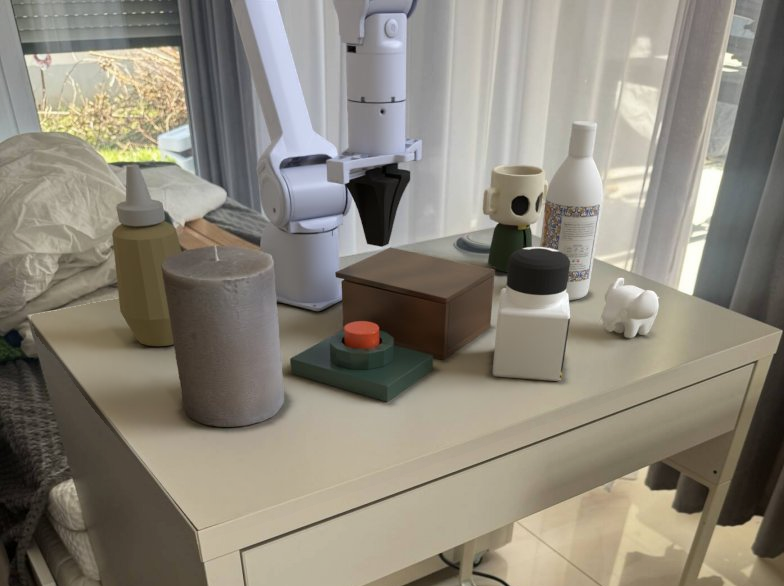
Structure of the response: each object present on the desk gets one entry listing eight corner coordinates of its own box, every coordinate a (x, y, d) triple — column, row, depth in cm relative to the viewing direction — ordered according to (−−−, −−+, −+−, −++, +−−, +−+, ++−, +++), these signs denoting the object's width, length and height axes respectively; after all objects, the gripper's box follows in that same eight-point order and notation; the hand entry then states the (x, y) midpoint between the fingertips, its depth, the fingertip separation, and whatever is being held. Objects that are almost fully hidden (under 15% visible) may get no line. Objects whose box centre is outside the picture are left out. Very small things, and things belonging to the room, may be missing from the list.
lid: (335, 277, 86) (335, 272, 86) (390, 252, 94) (390, 247, 94) (446, 304, 80) (446, 298, 80) (494, 274, 88) (495, 269, 88)
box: (343, 334, 90) (341, 280, 86) (395, 305, 97) (395, 255, 94) (443, 360, 84) (446, 304, 80) (490, 327, 92) (494, 275, 88)
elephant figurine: (581, 329, 92) (589, 279, 88) (632, 318, 95) (642, 269, 91) (620, 350, 87) (630, 298, 83) (672, 337, 90) (684, 287, 87)
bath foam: (541, 281, 106) (561, 116, 94) (592, 288, 104) (619, 120, 92) (529, 297, 100) (548, 124, 88) (582, 304, 98) (609, 129, 86)
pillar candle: (167, 399, 76) (138, 241, 67) (256, 374, 80) (239, 224, 71) (213, 439, 69) (187, 271, 60) (305, 409, 74) (294, 249, 65)
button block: (290, 373, 81) (288, 341, 79) (341, 345, 87) (339, 315, 85) (387, 402, 76) (387, 369, 74) (432, 370, 82) (434, 338, 80)
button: (337, 345, 79) (336, 329, 78) (357, 334, 81) (357, 318, 80) (366, 353, 78) (366, 336, 76) (386, 341, 80) (386, 325, 79)
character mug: (494, 282, 105) (503, 179, 97) (463, 268, 110) (469, 168, 102) (554, 269, 110) (567, 170, 102) (522, 256, 114) (532, 160, 107)
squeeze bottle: (112, 337, 88) (74, 165, 77) (173, 319, 92) (145, 154, 82) (152, 358, 83) (117, 178, 72) (214, 337, 88) (190, 166, 77)
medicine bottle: (560, 382, 80) (578, 265, 73) (492, 377, 81) (502, 260, 74) (559, 355, 86) (575, 243, 78) (495, 350, 86) (505, 239, 79)
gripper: (369, 112, 68) (371, 267, 76) (448, 94, 78) (443, 234, 86) (305, 105, 71) (314, 255, 79) (390, 89, 81) (390, 224, 89)
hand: (377, 244), depth 83 cm, fingers closed
